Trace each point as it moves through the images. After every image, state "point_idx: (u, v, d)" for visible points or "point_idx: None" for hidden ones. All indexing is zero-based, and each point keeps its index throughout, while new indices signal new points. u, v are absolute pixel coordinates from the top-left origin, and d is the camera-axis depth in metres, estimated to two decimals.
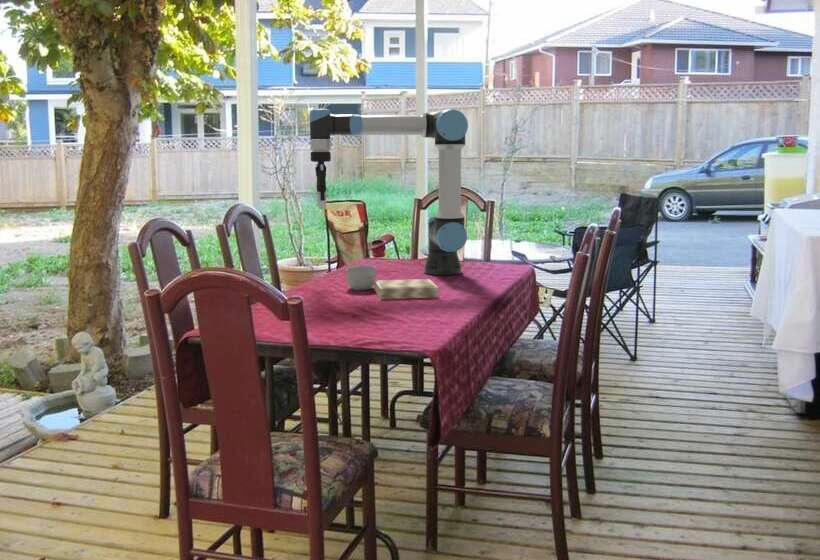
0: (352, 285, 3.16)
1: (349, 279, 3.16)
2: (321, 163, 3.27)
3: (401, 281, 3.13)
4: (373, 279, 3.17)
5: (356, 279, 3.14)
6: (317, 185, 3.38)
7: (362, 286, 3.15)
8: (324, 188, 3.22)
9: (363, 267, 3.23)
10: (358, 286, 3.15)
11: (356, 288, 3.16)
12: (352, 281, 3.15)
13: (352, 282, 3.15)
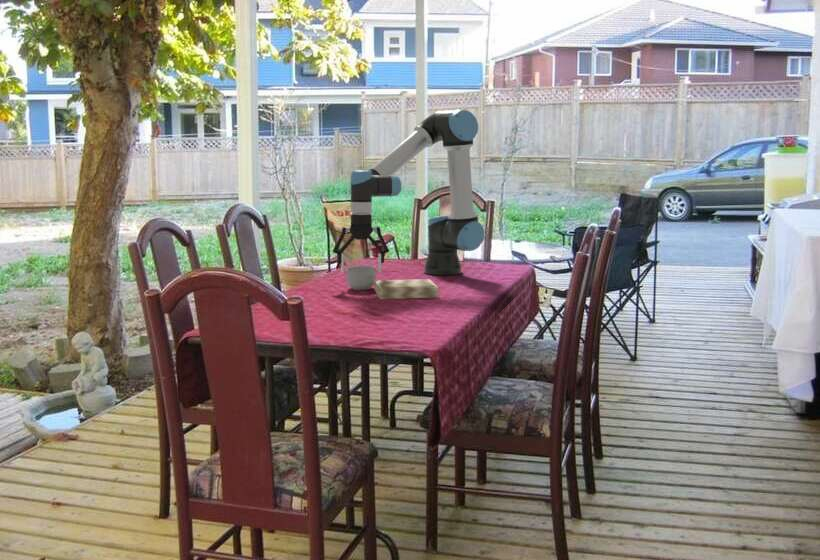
0: (352, 285, 3.16)
1: (349, 279, 3.16)
2: (350, 226, 3.17)
3: (401, 281, 3.13)
4: (373, 279, 3.17)
5: (356, 279, 3.14)
6: None
7: (362, 286, 3.15)
8: (333, 251, 3.17)
9: (363, 267, 3.23)
10: (358, 286, 3.15)
11: (356, 288, 3.16)
12: (352, 281, 3.15)
13: (352, 282, 3.15)
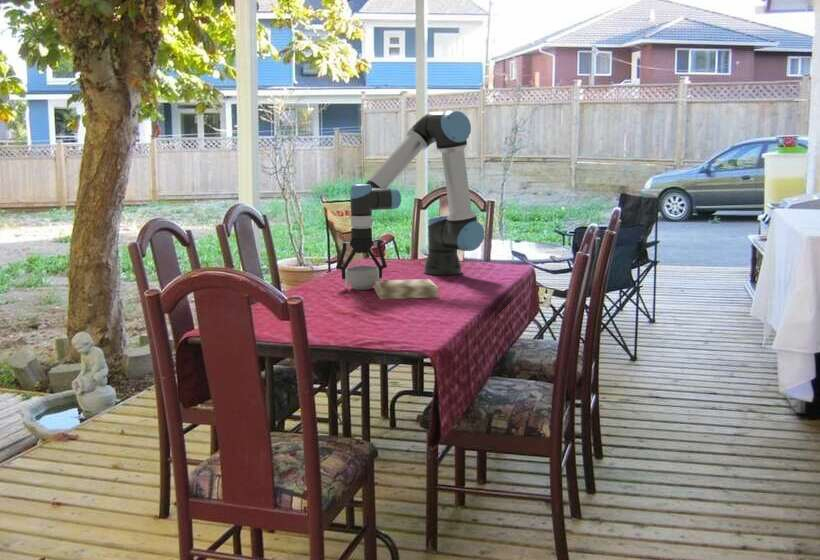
0: (353, 285, 3.16)
1: (350, 279, 3.16)
2: None
3: (401, 281, 3.13)
4: (374, 279, 3.17)
5: (357, 279, 3.14)
6: None
7: (363, 286, 3.15)
8: (337, 267, 3.18)
9: (364, 267, 3.23)
10: (359, 286, 3.15)
11: (357, 288, 3.16)
12: (353, 281, 3.15)
13: (353, 282, 3.15)
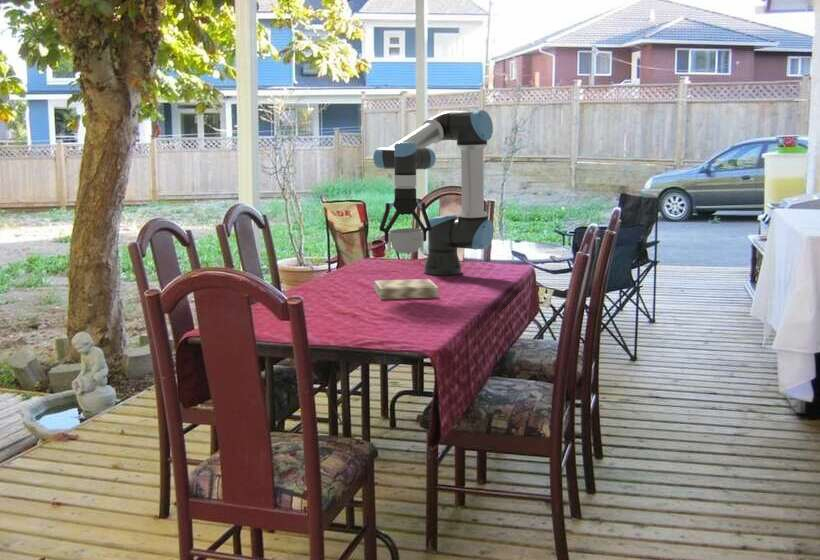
0: (397, 247, 3.02)
1: (394, 241, 3.02)
2: (394, 201, 3.04)
3: (401, 281, 3.13)
4: (419, 241, 3.03)
5: (402, 241, 3.00)
6: None
7: (408, 248, 3.01)
8: (380, 229, 3.04)
9: (408, 230, 3.09)
10: (404, 248, 3.01)
11: (401, 251, 3.02)
12: (397, 243, 3.01)
13: (397, 244, 3.01)
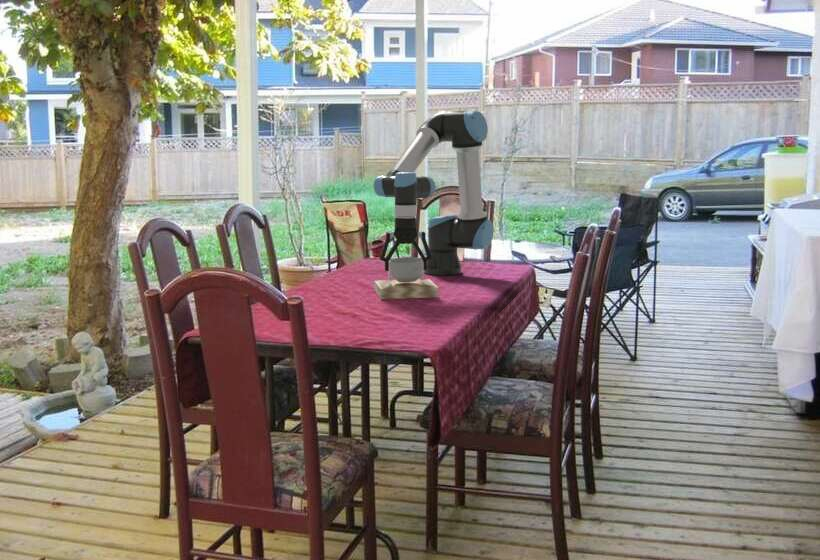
0: (397, 277, 3.03)
1: (394, 271, 3.04)
2: None
3: None
4: (419, 271, 3.04)
5: (402, 271, 3.02)
6: None
7: (408, 278, 3.03)
8: (380, 258, 3.06)
9: (408, 258, 3.11)
10: (404, 278, 3.03)
11: (402, 280, 3.04)
12: (398, 273, 3.03)
13: (398, 274, 3.03)
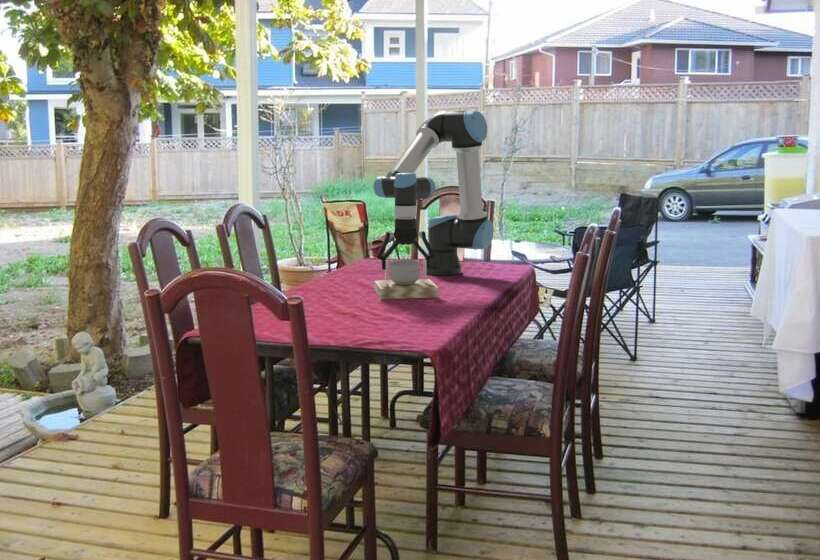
0: (396, 280, 3.04)
1: (392, 273, 3.04)
2: (394, 231, 3.06)
3: None
4: (417, 273, 3.04)
5: (400, 273, 3.02)
6: (422, 254, 3.10)
7: (406, 281, 3.03)
8: (377, 257, 3.05)
9: (406, 261, 3.11)
10: (402, 281, 3.03)
11: (400, 283, 3.04)
12: (396, 275, 3.03)
13: (396, 277, 3.03)
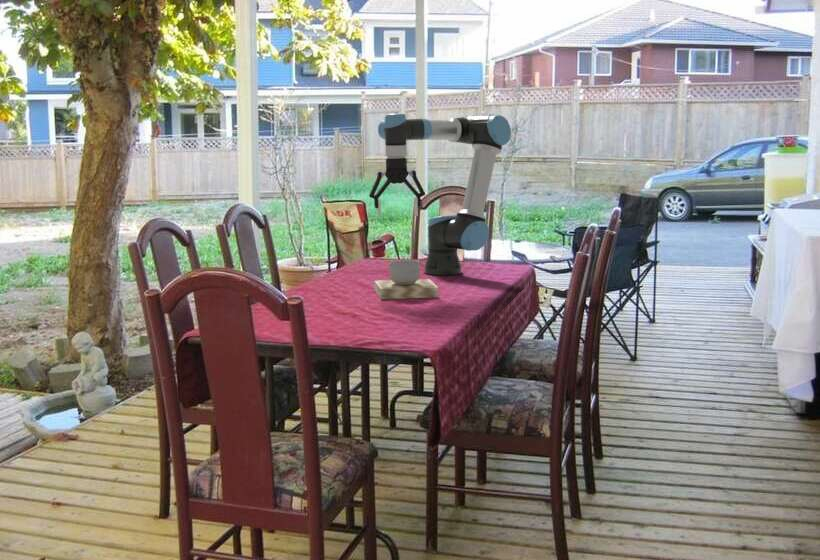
0: (396, 280, 3.04)
1: (392, 273, 3.04)
2: (386, 170, 3.17)
3: None
4: (417, 273, 3.04)
5: (400, 273, 3.02)
6: None
7: (406, 281, 3.03)
8: (370, 196, 3.16)
9: (406, 261, 3.11)
10: (402, 281, 3.03)
11: (400, 283, 3.04)
12: (396, 276, 3.03)
13: (396, 277, 3.03)
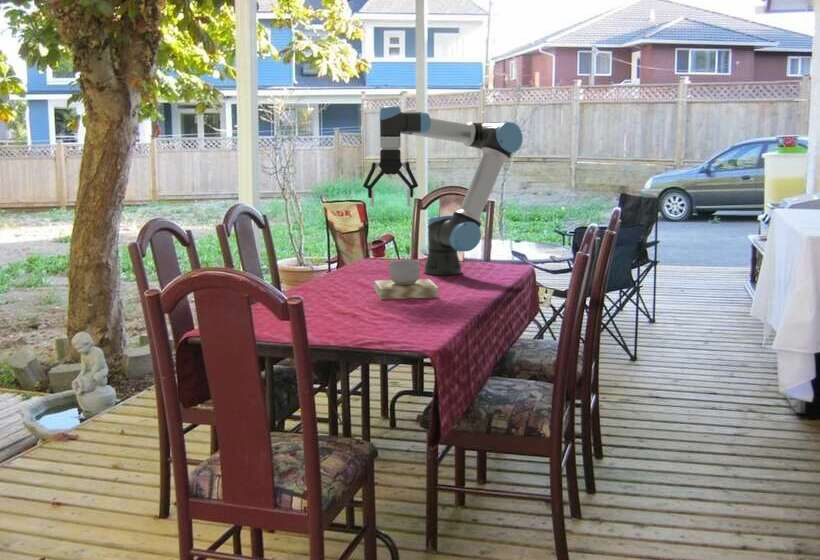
0: (396, 280, 3.04)
1: (392, 273, 3.04)
2: (380, 161, 3.25)
3: None
4: (417, 273, 3.04)
5: (400, 273, 3.02)
6: None
7: (406, 281, 3.03)
8: (363, 185, 3.25)
9: (406, 261, 3.11)
10: (402, 281, 3.03)
11: (400, 283, 3.04)
12: (396, 276, 3.03)
13: (396, 277, 3.03)
